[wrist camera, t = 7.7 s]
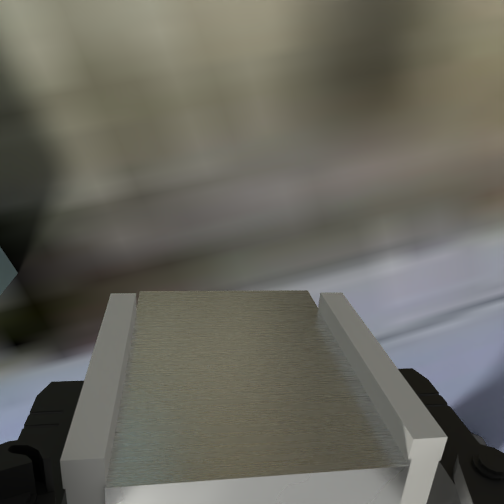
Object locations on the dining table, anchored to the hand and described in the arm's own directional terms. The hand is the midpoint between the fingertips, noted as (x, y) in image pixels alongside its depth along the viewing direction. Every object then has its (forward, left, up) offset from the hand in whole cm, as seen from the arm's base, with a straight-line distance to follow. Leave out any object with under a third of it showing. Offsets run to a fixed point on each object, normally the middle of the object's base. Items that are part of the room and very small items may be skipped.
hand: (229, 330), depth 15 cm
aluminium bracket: (+4, -2, -1) cm, 5 cm away
